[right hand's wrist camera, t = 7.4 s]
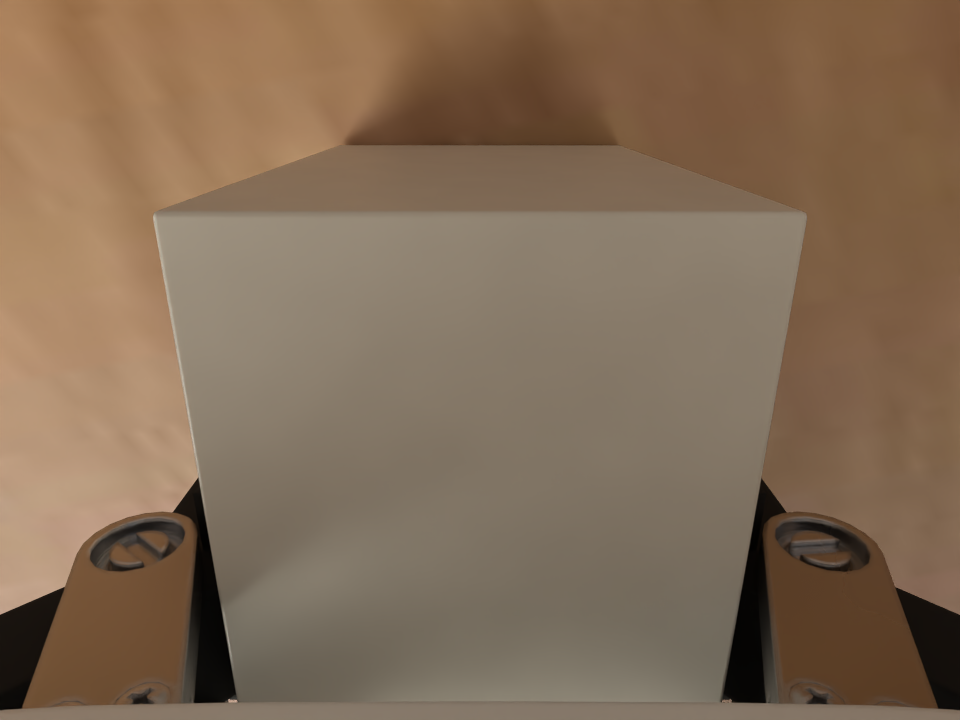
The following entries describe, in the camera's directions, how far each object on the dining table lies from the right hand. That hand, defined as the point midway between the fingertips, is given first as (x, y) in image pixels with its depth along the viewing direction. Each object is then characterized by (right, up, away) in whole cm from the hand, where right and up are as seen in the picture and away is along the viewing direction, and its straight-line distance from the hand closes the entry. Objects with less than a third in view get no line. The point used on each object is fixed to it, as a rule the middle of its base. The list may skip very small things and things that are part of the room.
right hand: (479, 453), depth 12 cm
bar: (0, -30, +14) cm, 33 cm away
